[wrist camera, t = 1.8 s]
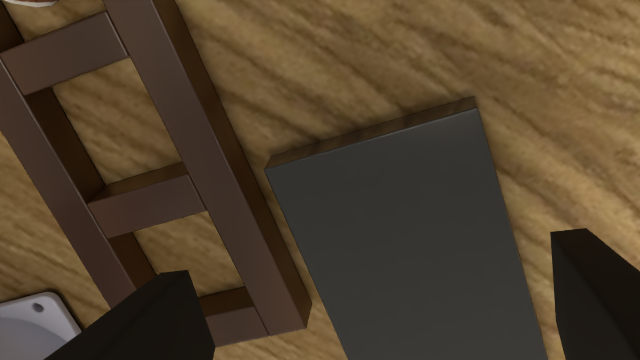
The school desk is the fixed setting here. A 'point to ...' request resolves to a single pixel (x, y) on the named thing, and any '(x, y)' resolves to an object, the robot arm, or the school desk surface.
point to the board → (411, 239)
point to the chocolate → (33, 2)
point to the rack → (156, 186)
